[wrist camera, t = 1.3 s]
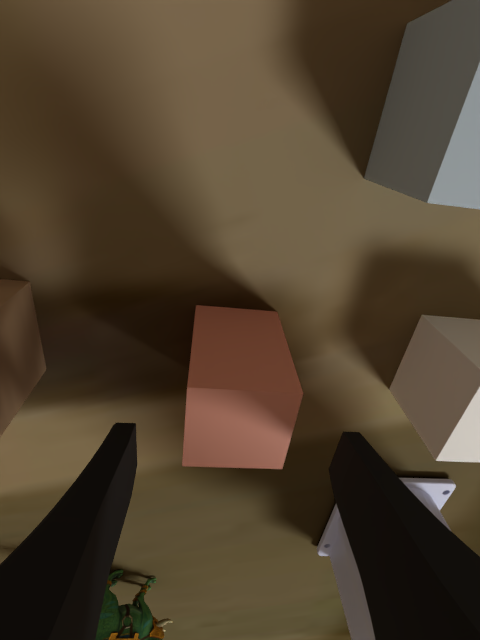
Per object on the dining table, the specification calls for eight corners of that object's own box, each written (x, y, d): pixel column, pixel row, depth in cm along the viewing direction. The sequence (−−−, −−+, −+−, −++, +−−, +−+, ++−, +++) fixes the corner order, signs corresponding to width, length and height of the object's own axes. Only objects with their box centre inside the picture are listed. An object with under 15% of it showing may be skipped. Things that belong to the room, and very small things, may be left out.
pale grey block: (466, 393, 21) (532, 464, 17) (388, 388, 20) (435, 460, 16) (508, 321, 18) (598, 382, 14) (420, 313, 18) (486, 375, 14)
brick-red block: (264, 374, 19) (282, 469, 14) (191, 370, 19) (182, 466, 13) (277, 311, 17) (303, 393, 12) (195, 304, 17) (187, 387, 12)
